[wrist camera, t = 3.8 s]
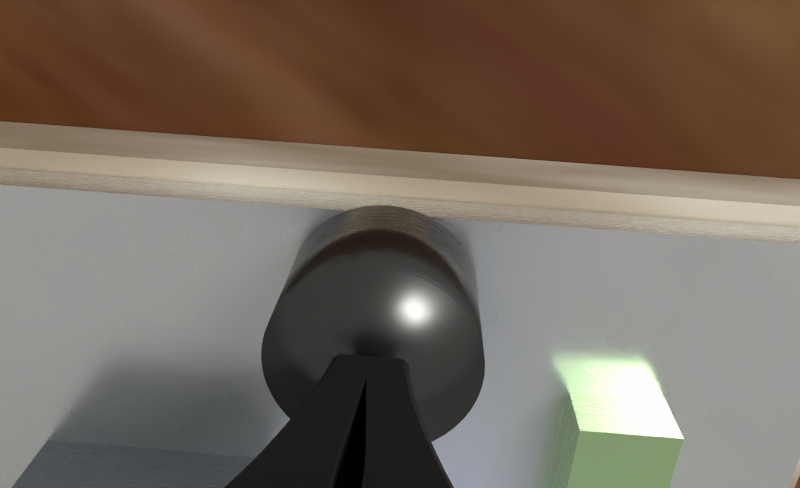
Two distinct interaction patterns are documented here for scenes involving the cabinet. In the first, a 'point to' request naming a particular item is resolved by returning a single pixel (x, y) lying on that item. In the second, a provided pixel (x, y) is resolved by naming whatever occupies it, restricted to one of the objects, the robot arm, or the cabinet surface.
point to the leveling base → (403, 175)
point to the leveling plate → (547, 323)
